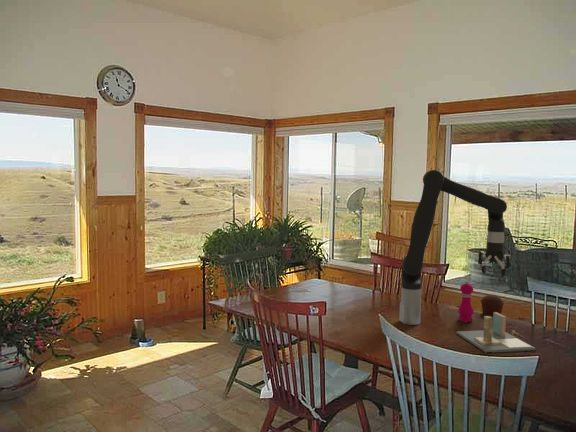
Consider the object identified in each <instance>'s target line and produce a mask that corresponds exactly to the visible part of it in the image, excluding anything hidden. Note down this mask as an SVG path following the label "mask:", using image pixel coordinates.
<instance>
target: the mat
mask: <svg viewBox="0 0 576 432" xmlns="http://www.w3.org/2000/svg"><path fill="white" fill-rule="evenodd" d="M483 333H484V329H483V330H460V331H459V330H458V331H456V335H458V336H459V337H461V338H463V339H464V340H466V341H467V342H469V343H470V344H472V345H473V346H475V347H476V348H477V349H479V350H481V351H483V352H484V353H486V354H488V353H487V352H492V353H504V352H505V353H506V352H507V353H508V352H525V351H528V352H530V351H536V347H534V346H533V345H531V344H529V343H527V342H525V341H524V340H522V339H520V338H518V337H517V336H514V335H512V334H510V333H508V332H506V331H505V337H501V336H499V335H497V334H496V333H494V332H493V329H492V337H493V338H494V339H514V338H517V339H519V340H521V341H523V342H524V343H526V344H528V345H530V346H532V347H525V348H508V347H506V346H505V345H503V344H501V345H482V344H480V343H478V342H477V341H475V340H474V338H475V337H483Z"/></svg>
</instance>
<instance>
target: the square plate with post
mask: <svg viewBox="0 0 576 432" xmlns="http://www.w3.org/2000/svg"><path fill="white" fill-rule="evenodd" d="M483 330H484V333H483V337H475V338H474V340H475V341H477V342H478V343H480V344H482V345H501V342H500V341H498V340H496V339H494V338H493V337H492V330H493V317H492V316H486V315H484V316H483Z"/></svg>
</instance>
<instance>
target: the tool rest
mask: <svg viewBox="0 0 576 432" xmlns="http://www.w3.org/2000/svg"><path fill="white" fill-rule="evenodd" d="M517 338H518V337H516V338H514V339H496V340H498V341H500V342H501V344H503V345H505V346H506V347H508V348H525V347H532V346H533V345H531V344H529V343H527V342H525V341H524V340H522V339H520V338H518V339H517ZM519 339H520V340H519ZM521 340H522V341H521ZM523 341H524V342H525V343H524V342H523ZM526 343H527V344H526ZM528 344H529V345H528ZM530 345H531V346H530Z"/></svg>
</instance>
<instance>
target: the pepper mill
mask: <svg viewBox="0 0 576 432" xmlns="http://www.w3.org/2000/svg"><path fill="white" fill-rule="evenodd" d="M460 292H461V293H460V294H461V303H460V305H459V307H458V310H457V312H458V314H459V315H458V320H459V321H460V320H461V322H464V321H466V322H465V323H471V322H472V321H473V315H474V313H475V311H474V307H473V305H472V300H471V299H472V295H473V294H472V293H474V287H473V285H472V284H470V282H469V280H465V282H464V283H462V284H461V286H460Z"/></svg>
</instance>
